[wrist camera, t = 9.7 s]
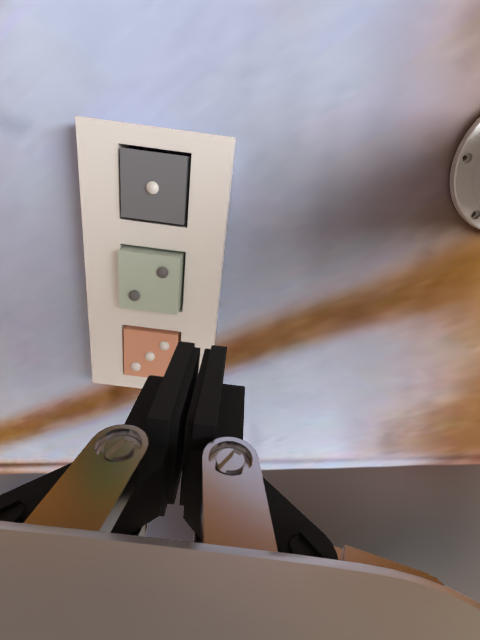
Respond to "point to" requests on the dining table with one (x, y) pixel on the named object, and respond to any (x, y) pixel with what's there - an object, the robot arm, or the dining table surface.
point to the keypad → (150, 237)
